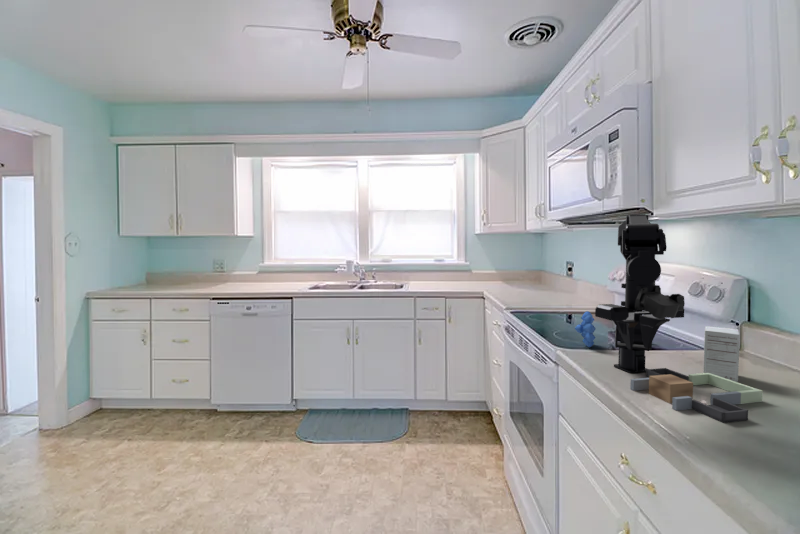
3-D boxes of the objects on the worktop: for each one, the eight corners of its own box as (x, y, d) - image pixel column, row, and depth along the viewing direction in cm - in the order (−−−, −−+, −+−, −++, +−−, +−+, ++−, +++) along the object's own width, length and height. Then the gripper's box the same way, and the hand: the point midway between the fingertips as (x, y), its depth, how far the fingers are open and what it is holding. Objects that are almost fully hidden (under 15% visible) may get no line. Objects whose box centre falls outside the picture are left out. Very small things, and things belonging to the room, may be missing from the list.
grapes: (571, 341, 148) (572, 308, 147) (591, 342, 146) (592, 309, 145) (576, 349, 136) (577, 314, 136) (598, 350, 135) (599, 315, 134)
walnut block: (648, 394, 96) (649, 375, 96) (670, 392, 97) (670, 374, 97) (669, 404, 90) (670, 384, 90) (692, 402, 92) (693, 382, 91)
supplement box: (703, 369, 114) (705, 325, 113) (737, 375, 109) (739, 329, 109) (702, 376, 108) (704, 330, 108) (738, 382, 104) (740, 333, 103)
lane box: (610, 379, 106) (610, 370, 106) (683, 373, 111) (684, 364, 111) (706, 424, 80) (707, 412, 80) (798, 414, 84) (798, 402, 84)
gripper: (631, 284, 81) (629, 361, 82) (708, 282, 85) (705, 355, 85) (594, 279, 92) (592, 347, 93) (664, 278, 95) (662, 343, 96)
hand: (638, 348), depth 91 cm, fingers open, 4 cm apart
